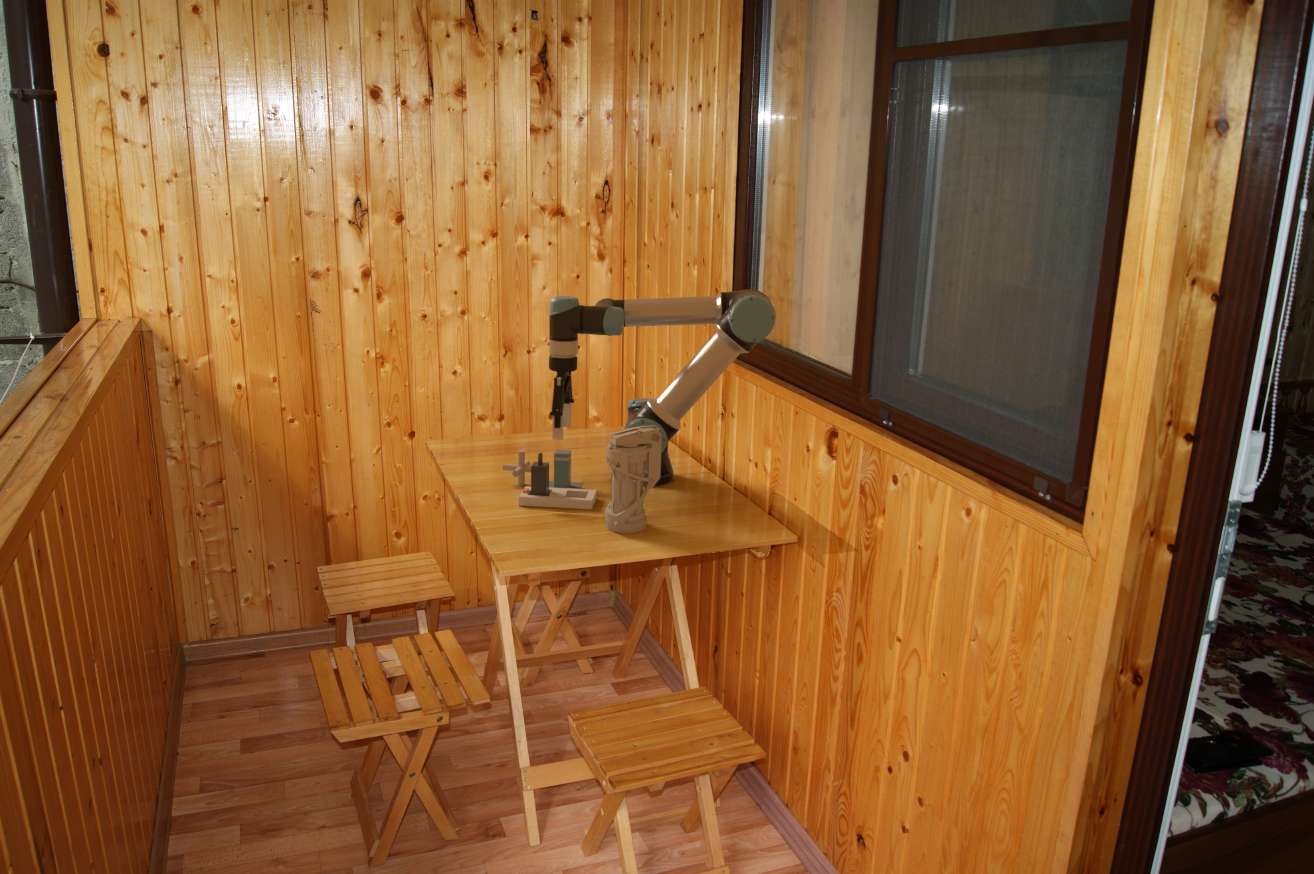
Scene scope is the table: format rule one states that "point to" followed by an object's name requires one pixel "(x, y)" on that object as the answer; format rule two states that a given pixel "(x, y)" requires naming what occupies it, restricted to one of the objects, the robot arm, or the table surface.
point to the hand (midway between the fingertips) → (561, 432)
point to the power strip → (560, 498)
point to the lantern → (632, 476)
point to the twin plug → (540, 477)
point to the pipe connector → (519, 467)
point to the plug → (562, 469)
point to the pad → (573, 486)
